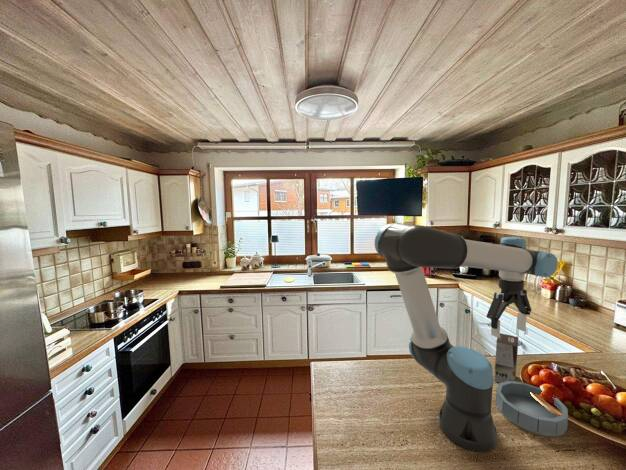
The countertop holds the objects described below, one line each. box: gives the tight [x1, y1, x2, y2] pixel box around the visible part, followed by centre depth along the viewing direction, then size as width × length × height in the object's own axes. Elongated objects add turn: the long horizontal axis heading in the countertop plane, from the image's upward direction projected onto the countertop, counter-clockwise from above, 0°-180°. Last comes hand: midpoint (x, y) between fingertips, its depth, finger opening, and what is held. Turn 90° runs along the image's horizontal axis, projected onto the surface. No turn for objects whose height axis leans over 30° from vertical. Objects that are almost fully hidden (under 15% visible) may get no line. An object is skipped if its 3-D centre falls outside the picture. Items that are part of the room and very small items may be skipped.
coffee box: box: [493, 332, 519, 384], centre depth 102 cm, size 9×6×16 cm
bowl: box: [495, 380, 569, 438], centre depth 85 cm, size 17×17×5 cm
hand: (508, 332), depth 101 cm, fingers open, 13 cm apart
